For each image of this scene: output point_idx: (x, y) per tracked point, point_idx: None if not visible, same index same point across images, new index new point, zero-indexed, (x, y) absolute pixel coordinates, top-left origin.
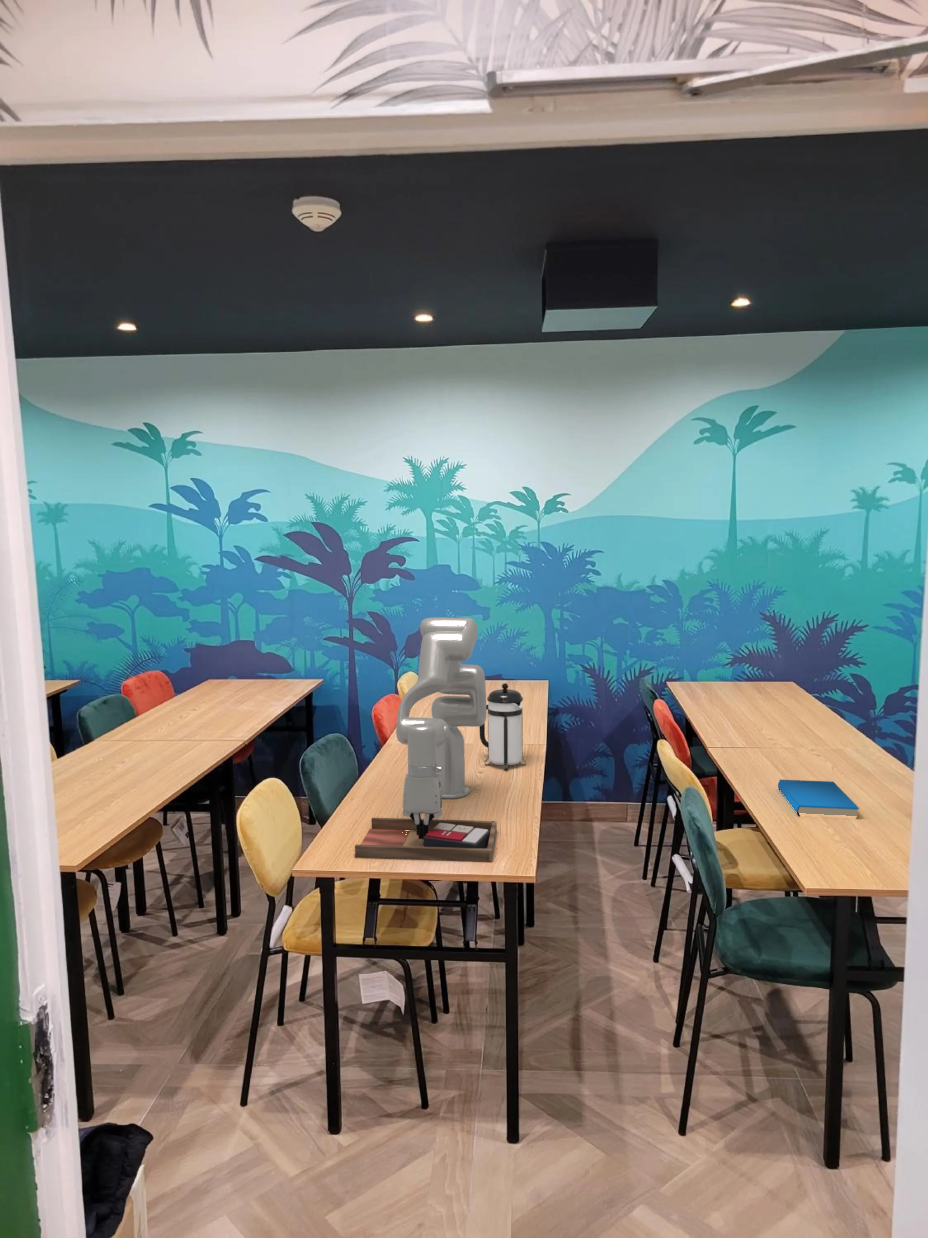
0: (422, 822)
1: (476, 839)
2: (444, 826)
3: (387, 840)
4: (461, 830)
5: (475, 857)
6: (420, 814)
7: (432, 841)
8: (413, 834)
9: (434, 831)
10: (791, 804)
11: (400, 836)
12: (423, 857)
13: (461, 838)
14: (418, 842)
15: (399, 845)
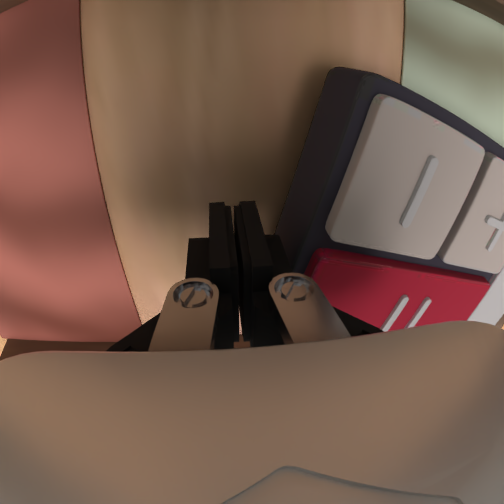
0: (234, 286)
1: (494, 322)
2: (417, 211)
3: (9, 185)
4: (487, 252)
5: None
6: (212, 338)
7: None
8: (119, 32)
9: (336, 300)
10: None
11: (47, 104)
12: None
13: None
14: (189, 163)
15: (96, 238)
